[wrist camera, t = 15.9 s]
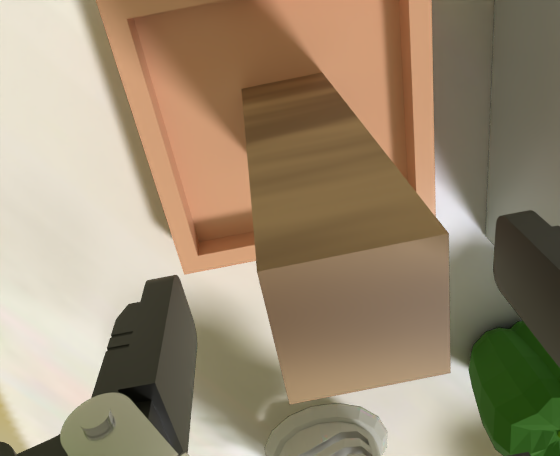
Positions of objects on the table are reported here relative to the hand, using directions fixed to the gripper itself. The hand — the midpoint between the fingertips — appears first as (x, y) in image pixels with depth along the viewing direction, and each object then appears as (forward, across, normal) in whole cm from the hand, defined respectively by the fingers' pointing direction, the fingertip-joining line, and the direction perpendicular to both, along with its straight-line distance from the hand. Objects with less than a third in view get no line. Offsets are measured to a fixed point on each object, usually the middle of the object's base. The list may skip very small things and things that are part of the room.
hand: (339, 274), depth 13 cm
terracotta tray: (+15, 0, 0) cm, 15 cm away
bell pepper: (+15, -13, +20) cm, 29 cm away
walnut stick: (+14, 0, 0) cm, 14 cm away
